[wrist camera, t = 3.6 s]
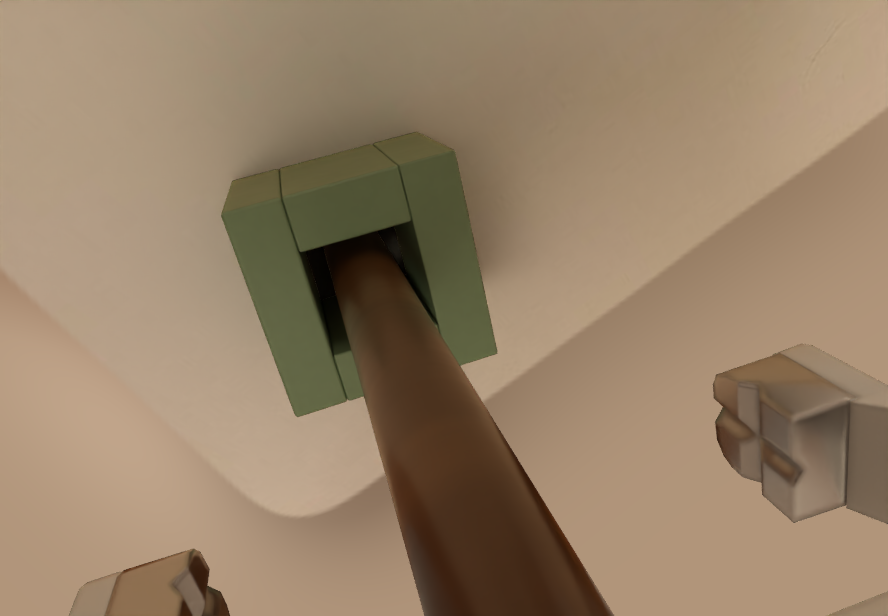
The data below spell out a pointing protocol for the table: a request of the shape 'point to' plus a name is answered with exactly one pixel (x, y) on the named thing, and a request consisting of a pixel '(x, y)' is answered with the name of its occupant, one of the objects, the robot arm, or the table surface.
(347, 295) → the stick
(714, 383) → the robot arm
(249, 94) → the table surface
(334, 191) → the holder
